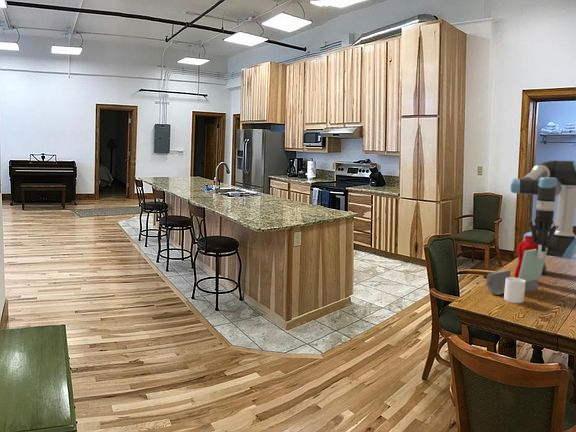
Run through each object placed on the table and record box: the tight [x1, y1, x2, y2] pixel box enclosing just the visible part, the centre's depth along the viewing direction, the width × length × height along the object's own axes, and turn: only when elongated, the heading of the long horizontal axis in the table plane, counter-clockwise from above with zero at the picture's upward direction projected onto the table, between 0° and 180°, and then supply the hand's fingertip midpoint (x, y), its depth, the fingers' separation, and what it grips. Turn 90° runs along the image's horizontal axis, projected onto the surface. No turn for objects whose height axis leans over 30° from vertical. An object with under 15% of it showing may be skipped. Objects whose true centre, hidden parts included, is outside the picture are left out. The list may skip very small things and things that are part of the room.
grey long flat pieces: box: [485, 269, 539, 293], centre depth 230 cm, size 18×16×6 cm
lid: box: [518, 248, 548, 282], centre depth 220 cm, size 18×16×1 cm
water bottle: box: [513, 236, 537, 278], centre depth 241 cm, size 9×11×25 cm
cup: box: [503, 276, 526, 304], centre depth 211 cm, size 8×12×10 cm
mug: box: [487, 278, 505, 295], centre depth 220 cm, size 10×8×10 cm
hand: (540, 257), depth 216 cm, fingers closed
